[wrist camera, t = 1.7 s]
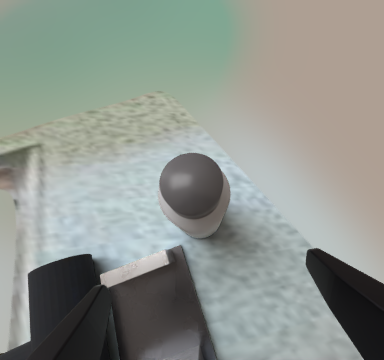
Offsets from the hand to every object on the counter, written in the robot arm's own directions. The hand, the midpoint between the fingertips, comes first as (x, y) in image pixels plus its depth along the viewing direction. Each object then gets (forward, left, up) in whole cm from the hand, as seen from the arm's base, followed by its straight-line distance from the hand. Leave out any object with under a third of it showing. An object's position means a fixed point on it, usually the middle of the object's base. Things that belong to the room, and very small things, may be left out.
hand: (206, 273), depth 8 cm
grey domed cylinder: (+5, -1, -11) cm, 12 cm away
